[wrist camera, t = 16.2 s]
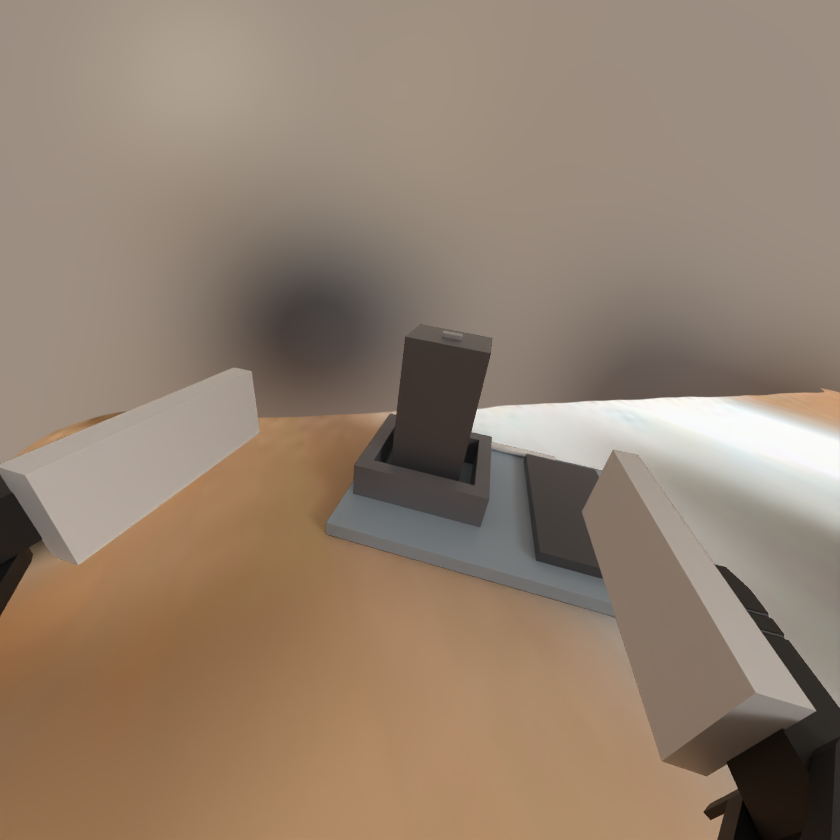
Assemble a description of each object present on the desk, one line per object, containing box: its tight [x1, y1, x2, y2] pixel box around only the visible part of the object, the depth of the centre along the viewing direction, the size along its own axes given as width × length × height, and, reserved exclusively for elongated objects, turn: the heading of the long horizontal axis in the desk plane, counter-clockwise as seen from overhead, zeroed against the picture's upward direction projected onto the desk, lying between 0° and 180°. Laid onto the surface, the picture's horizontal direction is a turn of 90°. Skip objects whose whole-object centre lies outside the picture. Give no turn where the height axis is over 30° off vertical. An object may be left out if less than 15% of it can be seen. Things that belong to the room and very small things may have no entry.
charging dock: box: [326, 414, 615, 617], centre depth 24 cm, size 21×14×4 cm, turn 77°
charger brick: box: [391, 324, 492, 481], centre depth 22 cm, size 5×4×11 cm
